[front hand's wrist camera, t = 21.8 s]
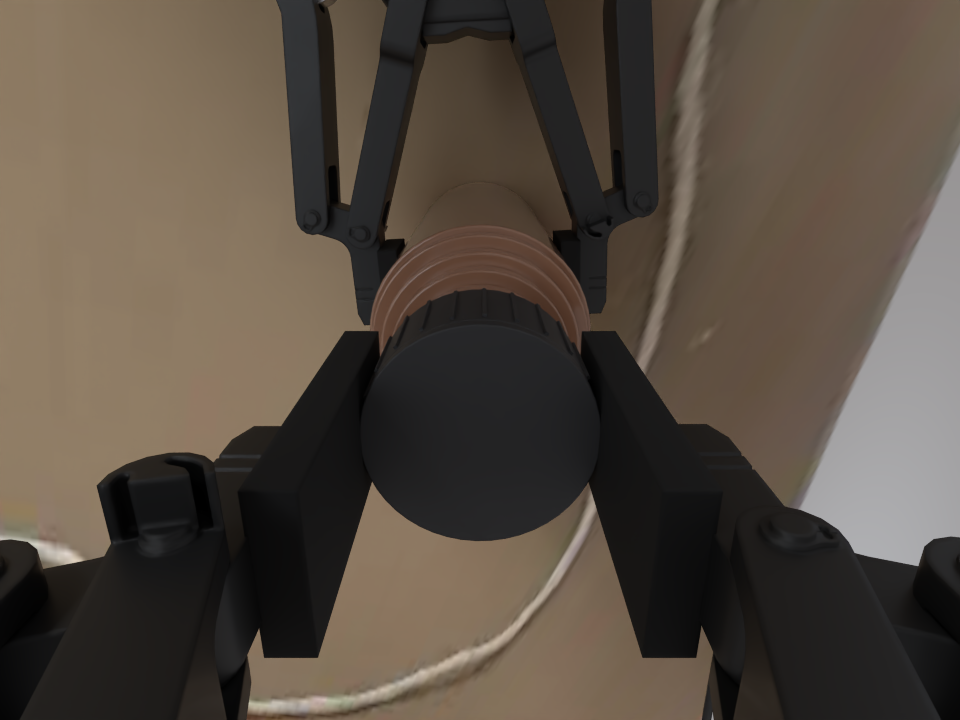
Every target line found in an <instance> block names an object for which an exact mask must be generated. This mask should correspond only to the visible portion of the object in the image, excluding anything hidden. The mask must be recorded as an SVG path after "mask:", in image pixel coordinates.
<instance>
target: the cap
mask: <svg viewBox="0 0 960 720" xmlns="http://www.w3.org/2000/svg"><path fill="white" fill-rule="evenodd" d="M589 379H591V378H590V376H589V374H588V371H587V369H586V367H585V365H584V362H583V360H582V358H581V356H580V353H579V351H578V349H577V347H576V344H575V342H573V343H572V342H571V341H570V339H569V337H568V336H567V334H566V332H565V331H564V329H563V327H562V324H561V322H560V321H559V320H558V321H556V320H555V319H554V318H552V317H551V316H550V315H549V314H548V313H547V312H546V311H544V310H543V309H541V307H540V305H539V304H538V303H537V304H534V303H532V302H530V301H528V300H526V299H524V298H522V297H519V296H516V295H515V294H514V293H513V292H511V293H506V292H502V291H496V290H486V288H482V289H477V290H465V291H459V292H458V291H457V290H456V291H454V292H453V293H451V294H447V295H444V296H441V297H439V298H437V299H435V300H432V301H431V300H428V301H427V303H426V304H425V305H424V306H422V307H420V308H419V309H418V310H416V311H415V312H414V313H413V314H411V315H410V316H408V315H407V316H406V317H405V319H404V321H403V323H402V324H401V325H400V327H399V328H398V329H397V331H396V332H395V334H394V335H393V336H392V337H391V336H390V337H389V338H388V340H387V343H386V345H385V347H384V349H383V352H382V354H381V356H380V358H379V361H378V363H377V365H376V367H375V370H374V373H373V375H372V377H371V380H370V382H369V384H368V386H367V389H366V391H365V393H364V396H363V399H365V400H364V403H363V406H362V410H361V416H360V434H361V447H362V457H363V461H364V465H365V467H366V469H367V472H368V474H369V477H370V478H371V480H372V482H373V483H374V485H375V487H376V489H377V490H378V491H379V493H380V494H381V495H382V496H383V498H384V499H385V500H386V501H387V502H388V503H389V504H390V505H391V506H392V507H393V508H394V509H395V510H396V511H397V512H399V513H400V514H401V515H402V516H404V517H405V518H406V519H408V520H410V521H411V522H413V523H415V524H416V525H418V526H420V527H422V528H424V529H426V530H429V531H431V532H433V533H436V534H440V535H443V536H446V537H450V538H455V539H460V540H471V541H492V540H499V539H506V538H510V537H514V536H518V535H522V534H524V533H527V532H530V531H532V530H535V529H537V528H539V527H541V526H542V525H544V524H546V523H548V522H549V521H551V520H552V519H554V518H555V517H557V516H558V515H560V514H561V513H562V512H563V511H564V510H566V509H567V508H568V507H569V506H570V505H571V504H572V503H573V502H574V501H575V499H576V498H577V497H578V496H579V495H580V494H581V492H582V491H583V489H584V488H585V486H586V485H587V483H588V481H589V479H590V477H591V475H592V473H593V471H594V469H595V466H596V463H597V460H598V452H599V440H600V426H601V417H600V412H599V408H598V404H597V401H596V398H595V396H594V393H593V391H592V389H591V386H590V384H589V382H588V380H589Z"/></svg>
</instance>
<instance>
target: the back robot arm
mask: <svg viewBox="0 0 960 720" xmlns="http://www.w3.org/2000/svg"><path fill="white" fill-rule="evenodd" d="M276 1H277V3H278V6H279V8H280V11H281V14H282V28H283V42H284V56H285V70H286V85H287V99H288V113H289V127H290V141H291V155H292V169H293V184H294V198H295V212H296V220H297V224H298V226H299V227H300V229H301V230H302V231H304V232H305V233H307V234H311V235H315V234H320V235H323V236H326V237H330V238H333V239H336V240H338V241H340V242H342V243H343V244H344V245H345V246H346V247H347V248H348V250H349V252H350V256H351V261H352V269H353V277H354V285H355V293H356V299H357V309H358V315H359V316H360V318H361V320H362V322H363V324H364V325H370V319H371V313H372V307H373V303H374V300H375V297H376V294H377V291H378V289H379V287H380V285H381V283H382V281H383V279H384V277H385V276H386V274H387V273H388V271H389V270H390V268H391V267H392V265H393V264H394V262H395V260H396V259H397V257H398V256H399V254H400V253H401V251H402V250H403V248H404V247H405V241H404V239H388V240H386V241H385V233H384V232H385V231H386V229H387V227H388V226H386V224H387V219H388V215H389V210H390V206H391V201H392V197H393V192H394V188H395V183H396V179H397V174H398V170H399V165H400V161H401V156H402V152H403V147H404V143H405V139H406V134H407V130H408V125H409V121H410V116H411V112H412V107H413V103H414V98H415V94H416V89H417V85H418V80H419V76H420V72H421V70H422V67H423V64H424V60H425V55H426V51H427V46H428V44H438V43H449V42H451V41H454V40H457V39H460V38H462V37H465V36H472V37H476V38H481V39H485V40H507V39H509V41H510V44H511V47H512V50H513V53H514V56H515V58H516V61H517V63H518V65H519V68H520V70H521V73H522V76H523V79H524V82H525V85H526V88H527V91H528V94H529V97H530V99H531V102H532V105H533V108H534V111H535V114H536V117H537V120H538V123H539V126H540V129H541V132H542V135H543V138H544V141H545V144H546V147H547V150H548V153H549V156H550V159H551V161H552V164H553V167H554V170H555V173H556V176H557V179H558V182H559V185H560V188H561V191H562V194H563V197H564V200H565V203H566V206H567V209H568V212H569V215H570V218H571V220H572V231H571V230H558V231H553V243H554V244H555V246H556V247H557V249H558V250H559V252H560V253H561V255H562V256H563V258H564V260H565V261H566V263H567V264H568V266H569V267H570V269H571V270H572V272H573V273H574V275H575V277H576V278H577V280H578V282H579V284H580V286H581V288H582V291H583V293H584V295H585V298H586V302H587V306H588V309H589V314H593V313H601V312H602V310H603V307H604V305H605V302H606V282H607V278H606V276H607V242H608V238H609V235H610V233H611V232H612V231H613V229H614V228H616V227H617V226H618V225H620V224H622V223H625V222H627V221H629V220H632V219H634V218H637V217H645V216H648V215H650V214H651V213H652V212H654V210H655V209H656V207H657V205H658V172H657V144H656V116H655V87H654V59H653V30H652V2H651V0H604V6H603V32H604V48H605V65H606V82H607V98H608V115H609V131H610V148H611V165H612V181H613V188H611V189H609V190H606V191H604V192H602V189H601V186H600V183H599V180H598V177H597V174H596V170H595V167H594V164H593V161H592V158H591V155H590V151H589V148H588V145H587V142H586V139H585V136H584V132H583V129H582V126H581V123H580V120H579V117H578V114H577V110H576V107H575V104H574V101H573V98H572V95H571V91H570V88H569V85H568V82H567V79H566V76H565V72H564V69H563V66H562V63H561V60H560V57H559V53H558V50H557V46H556V39H555V34H554V31H553V27H552V24H551V21H550V18H549V14H548V11H547V8H546V5H545V2H544V0H382V1H383V3H384V4H385V5H386V7H387V12H386V18H385V23H384V28H383V33H382V38H381V44H380V60H379V65H378V70H377V75H376V80H375V85H374V90H373V95H372V100H371V105H370V110H369V115H368V120H367V125H366V130H365V135H364V140H363V145H362V150H361V155H360V160H359V165H358V170H357V175H356V180H355V185H354V190H353V195H352V200H351V205H347V204H344V203H341V198H340V176H339V154H338V132H337V110H336V88H335V66H334V43H333V32H332V24H331V19H330V14H329V11H328V7H329V6H331V5H333V4H334V3H335V2H336V1H337V0H276Z"/></svg>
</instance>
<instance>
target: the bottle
mask: <svg viewBox="0 0 960 720" xmlns="http://www.w3.org/2000/svg"><path fill="white" fill-rule="evenodd" d="M482 288H486V290H496V291H502V292H506V293H511V292H513V293H514V294H515V295H516V296H519V297H522V298H524V299H526V300H528V301H530V302H532V303H534V304H537V303H538V304H539V305H540V307H541V309H543V310H544V311H546V312H547V313H548V314H549V315H550V316H551V317H552V318H554V319H555V320H556V321H558V320H559V321H560V322H561V324H562V327H563V329H564V331H565V332H566V334H567V336H568V337H569V339H570V341H571V342H572V343H573V342H575V344H576V347H577V349H578V351H579V353H580V352H581V336H582V331H590V316H589V309H588V306H587V302H586V298H585V295H584V293H583V291H582V288H581V286H580V284H579V282H578V280H577V278H576V277H575V275H574V273H573V272H572V270H571V269H570V267H569V266H568V264H567V263H566V261H565V260H564V258H563V256H562V255H561V253H560V252H559V250H558V249H557V247H556V246H555V244H554V243H553V241H552V240H551V238H550V237H549V235H548V234H547V232H546V231H545V229H544V228H543V226H542V224H541V223H540V221H539V220H538V218H537V217H536V215H535V214H534V212H533V211H532V209H531V208H530V207H529V205H528V204H527V203H526V202H525V201H524V200H523V199H522V198H521V197H520V196H519V195H517V194H516V193H515V192H513V191H511V190H509V189H508V188H506V187H503V186H500V185H497V184H493V183H487V182H472V183H467V184H463V185H460V186H457V187H455V188H453V189H451V190H449V191H447V192H446V193H444V194H443V195H442V196H440V197H439V198H438V199H437V200H436V201H435V202H434V203H433V204H432V206H431V207H430V208H429V210H428V211H427V213H426V214H425V216H424V217H423V219H422V221H421V222H420V224H419V225H418V227H417V228H416V230H415V231H414V233H413V234H412V236H411V237H410V239H409V241H408V242H407V244H406V245H405V247H404V248H403V250H402V251H401V253H400V254H399V256H398V257H397V259H396V260H395V262H394V264H393V265H392V267H391V268H390V270H389V271H388V273H387V274H386V276H385V277H384V279H383V281H382V283H381V285H380V287H379V289H378V291H377V294H376V297H375V300H374V303H373V307H372V313H371V319H370V331H379V346H380V356H381V354H382V352H383V349H384V347H385V345H386V343H387V340H388V338H389V337H390V336H391V337H392V336H393V335H394V334H395V332H396V331H397V329H398V328H399V327H400V325H401V324H402V323H403V321H404V319H405V317H406V316H407V315H408V316H410V315H411V314H413V313H414V312H415V311H416V310H418V309H419V308H420V307H422V306H424V305H425V304H426V303H427V301H428V300H431V301H432V300H435V299H437V298H439V297H441V296H444V295H447V294H451V293H453V292H454V291H456V290H457V291H458V292H459V291H465V290H477V289H482Z"/></svg>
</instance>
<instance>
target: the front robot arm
mask: <svg viewBox="0 0 960 720" xmlns="http://www.w3.org/2000/svg"><path fill="white" fill-rule="evenodd" d="M580 356H581V358H582V360H583V362H584V365H585V367H586V369H587V371H588V374H589V376H590V378H591V379H589V380H588V382H589V384H590V386H591V389H592V391H593V393H594V396H595V398H596V401H597V404H598V408H599V412H600V417H601V426H600V440H599V452H598V460H597V463H596V466H595V469H594V471H593V473H592V475H591V477H590V479H589V481H588V482H589V485H590V488H591V492H592V495H593V498H594V501H595V505H596V508H597V511H598V514H599V518H600V521H601V524H602V527H603V531H604V534H605V537H606V540H607V544H608V547H609V550H610V553H611V557H612V560H613V563H614V566H615V570H616V573H617V576H618V579H619V583H620V586H621V589H622V592H623V596H624V599H625V602H626V605H627V609H628V612H629V615H630V618H631V622H632V625H633V628H634V631H635V635H636V638H637V641H638V644H639V648H640V651H641V654H642V657H643V658H696V656H697V650H698V644H699V638H700V632H701V625H702V627H703V630H704V632H705V634H706V636H707V639H708V641H709V643H710V645H711V648H712V650H713V657H712V663H711V668H710V674H709V680H708V686H707V691H706V697H705V703H704V709H703V716H702V720H711V717H712V712H713V717H714V720H960V538H959V537H945V538H938V539H933V540H932V541H931V542H930V543H928V544H927V545H926V546H925V547H924V550H923V553H922V556H921V559H920V563H919V566H914V565H909V564H903V563H898V562H893V561H888V560H883V559H878V558H873V557H868V556H864V555H860V554H856V553H854V551H853V549H852V547H851V545H850V544H849V542H848V541H847V540H846V538H845V537H844V536H843V535H842V534H841V532H840V531H839V530H838V529H836V528H835V527H833V526H832V525H830V524H829V523H827V522H826V521H824V520H823V519H821V518H819V517H816V516H814V515H811V514H809V513H806V512H804V511H802V510H798V509H793V508H788V507H785V506H784V505H783V504H782V503H781V501H780V500H779V499H778V498H777V497H776V495H775V494H774V493H773V492H772V490H771V489H770V488H769V487H768V485H767V484H766V483H765V482H764V480H763V479H762V478H761V477H760V476H759V474H758V473H757V472H756V471H755V470H752V466H751V464H750V463H749V462H748V461H747V459H746V458H745V457H744V456H741V452H740V451H739V450H738V448H737V447H736V446H735V445H734V443H733V442H732V441H731V440H730V438H729V437H727V436H725V435H724V434H722V433H720V432H719V431H717V430H715V429H714V428H712V427H710V426H709V425H707V424H677V422H676V421H675V419H674V418H673V416H672V415H671V413H670V412H669V410H668V409H667V407H666V406H665V404H664V403H663V401H662V400H661V398H660V397H659V395H658V394H657V392H656V391H655V389H654V388H653V386H652V385H651V383H650V382H649V381H648V379H647V378H646V376H645V375H644V373H643V372H642V370H641V369H640V367H639V366H638V364H637V363H636V361H635V360H634V358H633V357H632V355H631V354H630V352H629V351H628V349H627V348H626V346H625V345H624V343H623V342H622V340H621V339H620V337H619V336H618V334H617V333H616V331H582V336H581V352H580ZM379 358H380V346H379V331H345V332H344V334H343V335H342V337H341V338H340V339H339V341H338V342H337V344H336V345H335V347H334V348H333V350H332V351H331V353H330V354H329V356H328V357H327V359H326V360H325V362H324V363H323V365H322V366H321V368H320V369H319V371H318V372H317V374H316V375H315V377H314V378H313V380H312V381H311V383H310V384H309V386H308V387H307V389H306V390H305V392H304V393H303V395H302V396H301V397H300V399H299V400H298V402H297V403H296V405H295V406H294V408H293V409H292V411H291V412H290V414H289V415H288V417H287V418H286V420H285V421H284V423H283V424H282V426H254V427H252V428H250V429H249V430H247V431H245V432H244V433H242V434H241V435H239V436H237V437H236V438H234V439H232V440H231V442H230V443H229V444H228V445H227V447H226V448H225V449H224V450H223V452H222V453H221V454H220V455H219V459H216V460H215V461H214V463H213V462H212V461H211V460H209V459H208V458H207V457H205V456H203V455H198V454H194V453H166V454H161V455H155V456H150V457H146V458H143V459H140V460H137V461H134V462H131V463H129V464H126V465H124V466H122V467H120V468H119V469H117V470H115V471H113V472H111V473H110V474H108V475H107V476H106V477H105V478H104V479H103V480H102V481H101V482H100V483H99V484H98V485H97V489H98V493H99V497H100V501H101V505H102V509H103V513H104V517H105V521H106V524H107V528H108V532H109V536H110V540H111V545H110V547H109V549H108V550H107V552H106V554H105V556H104V557H100V558H96V559H92V560H87V561H82V562H77V563H72V564H66V565H61V566H56V567H51V568H46V569H43V567H42V564H41V561H40V558H39V554H38V551H37V549H36V548H34V547H33V546H32V545H31V544H30V543H28V542H24V541H17V540H11V539H10V540H1V541H0V720H246V718H247V711H248V703H249V696H250V689H251V676H250V668H249V663H248V657H247V654H248V652H249V650H250V647H251V645H252V643H253V641H254V638H255V636H256V634H257V632H258V629H260V635H261V641H262V648H263V654H264V658H318V656H319V652H320V649H321V646H322V643H323V639H324V636H325V633H326V630H327V626H328V623H329V620H330V617H331V613H332V610H333V607H334V603H335V600H336V597H337V594H338V590H339V587H340V584H341V581H342V577H343V574H344V571H345V568H346V564H347V561H348V558H349V555H350V551H351V548H352V545H353V542H354V538H355V535H356V532H357V529H358V525H359V522H360V519H361V516H362V512H363V509H364V506H365V503H366V499H367V496H368V493H369V490H370V486H371V483H372V480H371V478H370V477H369V474H368V472H367V469H366V467H365V465H364V461H363V457H362V447H361V434H360V416H361V410H362V406H363V403H364V400H365V399H363V396H364V393H365V391H366V389H367V386H368V384H369V382H370V380H371V377H372V375H373V373H374V370H375V367H376V365H377V363H378V361H379Z"/></svg>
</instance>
